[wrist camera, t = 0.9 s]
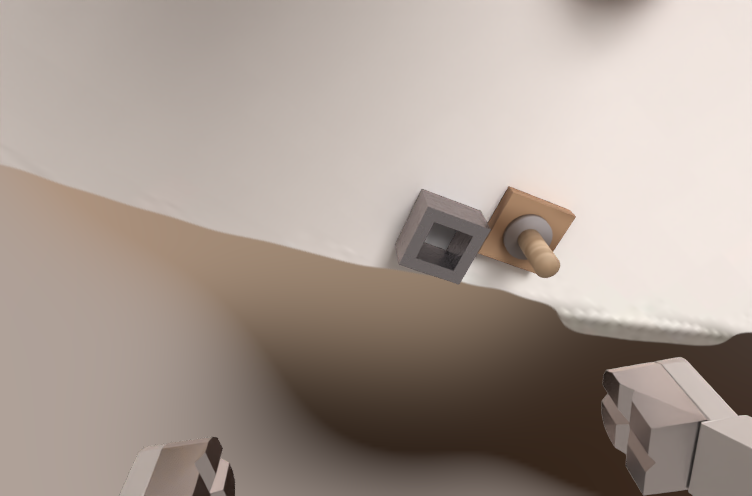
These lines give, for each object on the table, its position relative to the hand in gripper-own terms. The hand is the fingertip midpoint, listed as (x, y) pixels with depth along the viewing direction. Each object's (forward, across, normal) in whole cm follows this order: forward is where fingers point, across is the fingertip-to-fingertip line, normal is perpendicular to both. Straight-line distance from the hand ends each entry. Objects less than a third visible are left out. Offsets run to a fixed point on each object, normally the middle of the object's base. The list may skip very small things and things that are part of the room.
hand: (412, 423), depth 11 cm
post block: (+37, -14, +16) cm, 43 cm away
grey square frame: (+38, -5, +14) cm, 41 cm away
